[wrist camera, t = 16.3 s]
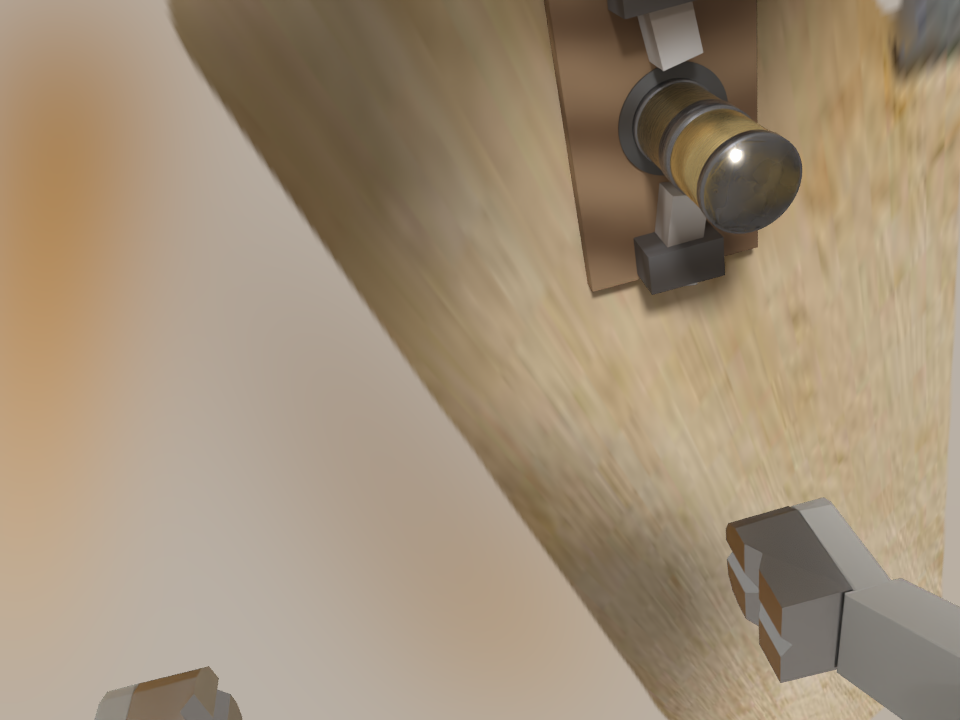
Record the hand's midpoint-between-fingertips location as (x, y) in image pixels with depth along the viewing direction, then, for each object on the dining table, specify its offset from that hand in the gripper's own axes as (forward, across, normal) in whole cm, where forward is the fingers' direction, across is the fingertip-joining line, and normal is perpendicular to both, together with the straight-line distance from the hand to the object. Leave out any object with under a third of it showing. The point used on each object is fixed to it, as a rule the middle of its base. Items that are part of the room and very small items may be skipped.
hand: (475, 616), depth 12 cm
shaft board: (+35, +15, -6) cm, 39 cm away
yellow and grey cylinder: (+34, +15, -6) cm, 38 cm away
